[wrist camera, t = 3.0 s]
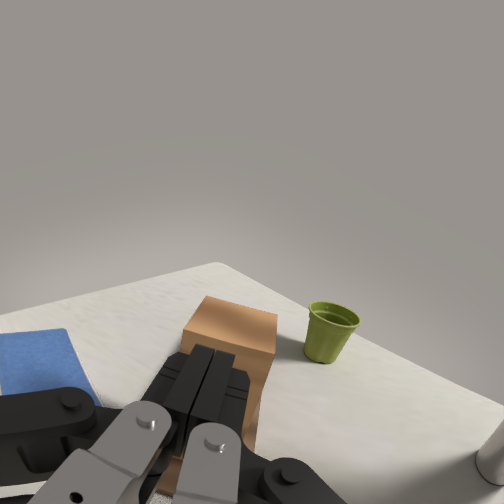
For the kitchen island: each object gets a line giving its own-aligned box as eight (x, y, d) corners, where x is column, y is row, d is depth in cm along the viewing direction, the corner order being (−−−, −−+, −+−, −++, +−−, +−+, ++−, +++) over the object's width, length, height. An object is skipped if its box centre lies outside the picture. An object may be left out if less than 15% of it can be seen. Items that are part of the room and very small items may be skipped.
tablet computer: (116, 430, 24) (116, 423, 24) (12, 450, 15) (8, 443, 14) (68, 333, 36) (67, 326, 36) (-6, 340, 27) (-7, 332, 27)
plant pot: (323, 376, 43) (343, 331, 41) (283, 347, 49) (298, 303, 47) (352, 360, 49) (370, 320, 47) (314, 337, 55) (329, 298, 53)
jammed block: (229, 473, 21) (275, 354, 18) (167, 455, 21) (183, 328, 18) (238, 431, 27) (277, 314, 23) (184, 416, 27) (206, 295, 24)
